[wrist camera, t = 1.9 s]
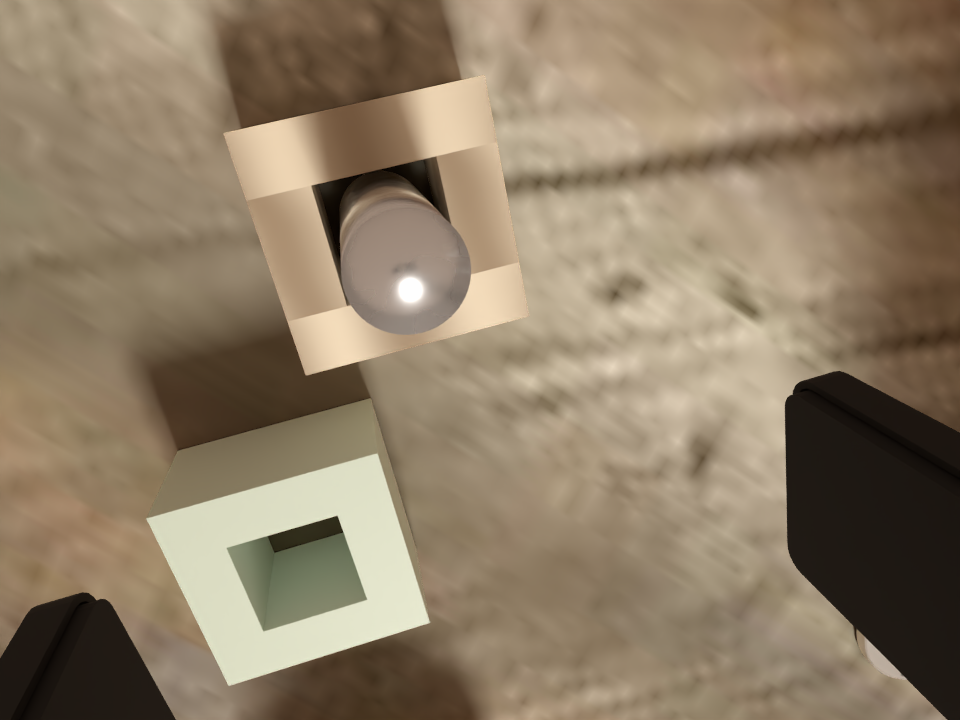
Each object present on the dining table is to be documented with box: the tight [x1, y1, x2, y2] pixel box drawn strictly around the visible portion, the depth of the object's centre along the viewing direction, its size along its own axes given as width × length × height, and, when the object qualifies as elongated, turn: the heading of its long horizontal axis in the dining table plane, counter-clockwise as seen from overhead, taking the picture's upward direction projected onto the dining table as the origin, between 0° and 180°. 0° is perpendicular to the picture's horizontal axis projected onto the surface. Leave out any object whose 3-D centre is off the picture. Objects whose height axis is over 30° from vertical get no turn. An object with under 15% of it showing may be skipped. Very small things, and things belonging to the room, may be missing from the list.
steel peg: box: [339, 171, 471, 335], centre depth 26 cm, size 4×4×12 cm
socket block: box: [223, 75, 529, 375], centre depth 29 cm, size 10×10×5 cm
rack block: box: [146, 398, 430, 686], centre depth 33 cm, size 10×10×6 cm
